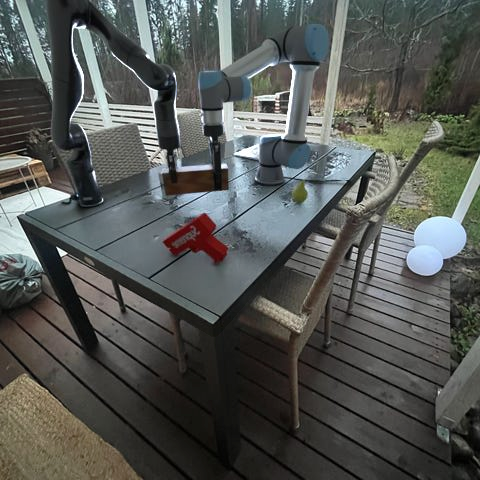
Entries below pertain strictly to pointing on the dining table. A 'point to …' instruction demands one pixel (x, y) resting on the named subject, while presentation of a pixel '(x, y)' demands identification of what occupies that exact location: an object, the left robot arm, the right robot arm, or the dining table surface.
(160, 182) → the ink box
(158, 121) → the left robot arm
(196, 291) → the dining table surface
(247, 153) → the white printed flat box
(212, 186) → the bar
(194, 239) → the toy gun
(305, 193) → the fruit
